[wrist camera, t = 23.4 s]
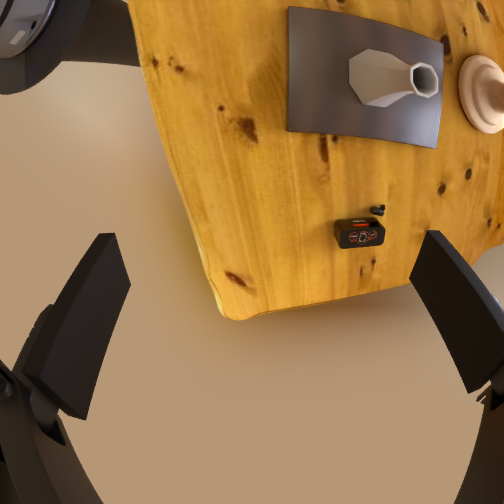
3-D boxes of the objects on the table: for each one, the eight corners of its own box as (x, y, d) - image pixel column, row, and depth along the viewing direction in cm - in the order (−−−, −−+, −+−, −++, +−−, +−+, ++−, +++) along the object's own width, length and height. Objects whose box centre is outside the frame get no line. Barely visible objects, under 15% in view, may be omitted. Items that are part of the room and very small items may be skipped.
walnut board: (285, 130, 30) (287, 131, 28) (286, 9, 22) (288, 5, 20) (430, 146, 30) (436, 149, 29) (437, 44, 22) (443, 43, 21)
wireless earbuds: (379, 232, 37) (388, 244, 34) (332, 236, 37) (338, 249, 35) (383, 202, 35) (393, 213, 32) (333, 205, 35) (341, 216, 32)
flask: (357, 113, 27) (400, 126, 19) (338, 53, 23) (377, 42, 15) (408, 102, 26) (461, 115, 17) (393, 46, 22) (444, 39, 14)
